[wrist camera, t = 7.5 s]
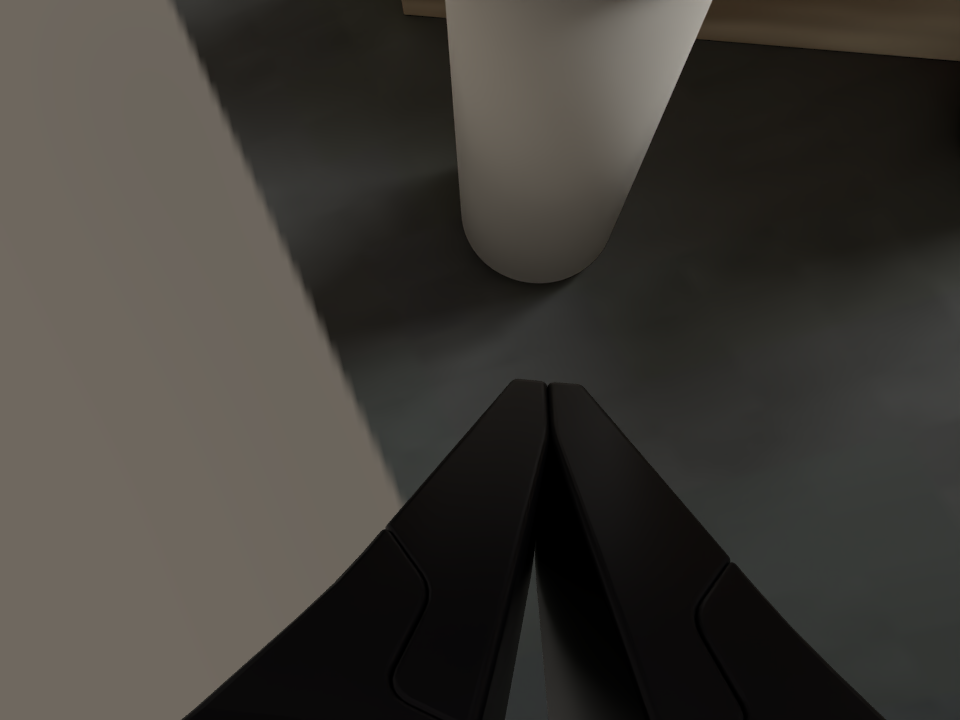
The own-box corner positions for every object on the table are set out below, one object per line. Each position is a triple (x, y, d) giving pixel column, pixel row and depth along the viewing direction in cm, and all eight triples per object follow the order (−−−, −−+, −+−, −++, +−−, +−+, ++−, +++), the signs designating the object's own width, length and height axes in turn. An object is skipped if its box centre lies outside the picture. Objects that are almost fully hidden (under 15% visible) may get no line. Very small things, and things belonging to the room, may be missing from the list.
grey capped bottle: (622, 305, 20) (885, -113, 7) (437, 287, 20) (349, -154, 7) (632, 137, 21) (874, -495, 8) (457, 121, 21) (414, -523, 8)
